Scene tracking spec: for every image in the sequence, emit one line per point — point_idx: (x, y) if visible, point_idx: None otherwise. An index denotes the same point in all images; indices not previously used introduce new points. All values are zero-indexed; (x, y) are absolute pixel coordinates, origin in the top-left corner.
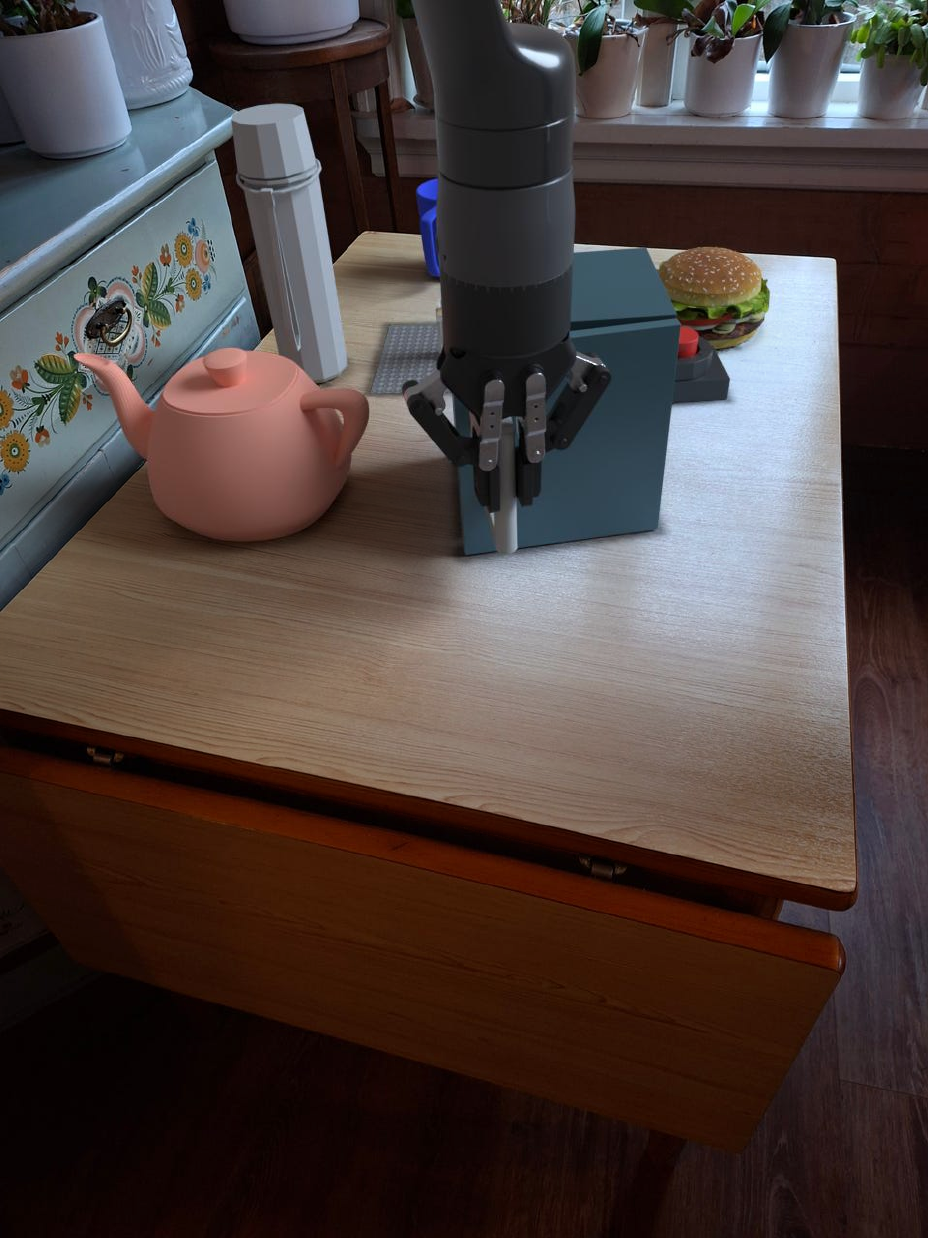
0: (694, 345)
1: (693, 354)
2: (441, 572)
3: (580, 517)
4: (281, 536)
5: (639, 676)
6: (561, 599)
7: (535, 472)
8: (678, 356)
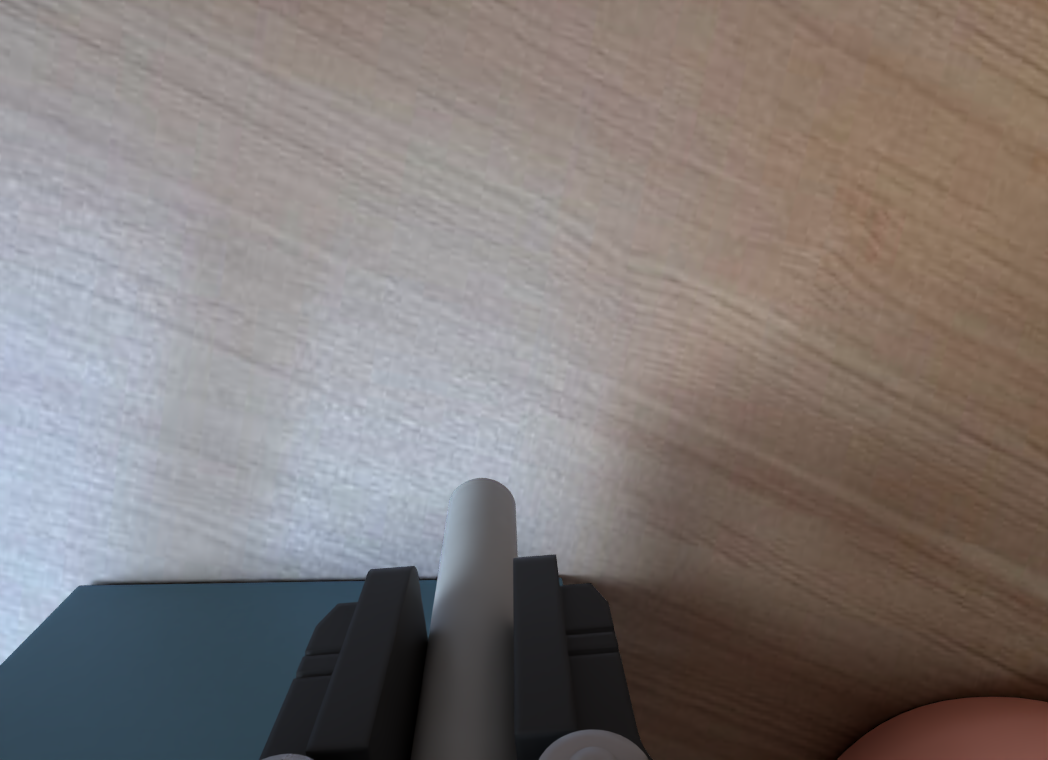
0: None
1: None
2: (626, 535)
3: (255, 628)
4: (951, 700)
5: (191, 74)
6: (356, 395)
7: (313, 706)
8: None
